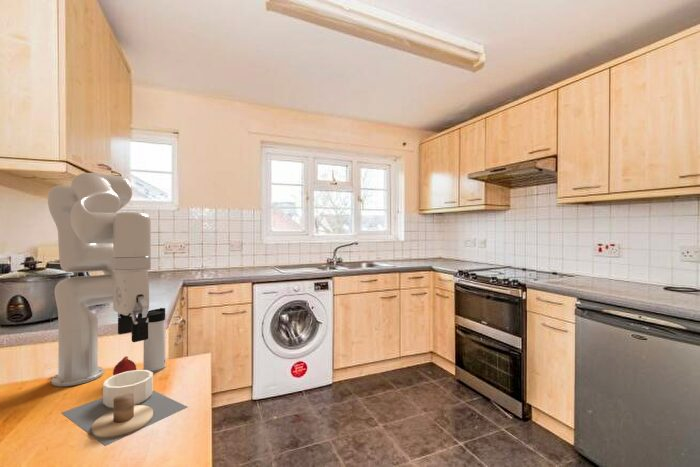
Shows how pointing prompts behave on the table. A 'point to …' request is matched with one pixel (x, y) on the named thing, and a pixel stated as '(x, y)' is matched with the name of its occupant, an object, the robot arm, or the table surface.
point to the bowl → (128, 386)
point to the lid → (122, 418)
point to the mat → (96, 409)
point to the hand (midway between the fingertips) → (132, 336)
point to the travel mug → (155, 341)
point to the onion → (124, 366)
